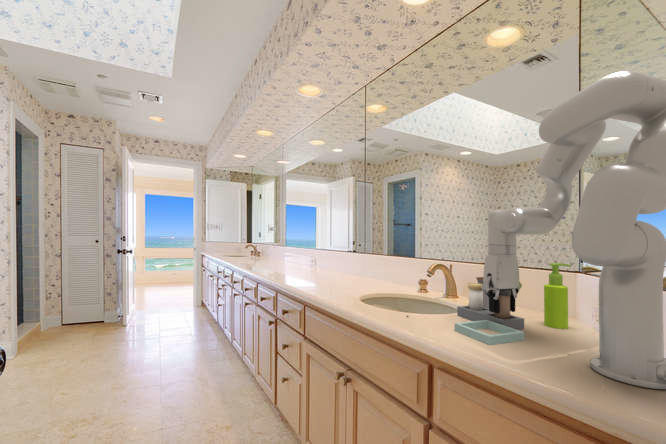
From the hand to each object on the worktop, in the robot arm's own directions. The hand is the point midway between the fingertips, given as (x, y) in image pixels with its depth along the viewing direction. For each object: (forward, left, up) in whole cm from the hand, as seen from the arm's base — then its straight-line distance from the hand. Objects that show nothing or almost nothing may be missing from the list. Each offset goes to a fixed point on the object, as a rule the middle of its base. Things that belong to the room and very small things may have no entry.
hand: (502, 310), depth 92 cm
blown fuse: (0, 0, -5) cm, 5 cm away
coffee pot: (+17, -15, -6) cm, 23 cm away
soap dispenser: (-5, -17, -6) cm, 19 cm away
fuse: (+10, 0, -5) cm, 11 cm away
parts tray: (-5, +11, -6) cm, 13 cm away
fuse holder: (+5, 0, -6) cm, 7 cm away
